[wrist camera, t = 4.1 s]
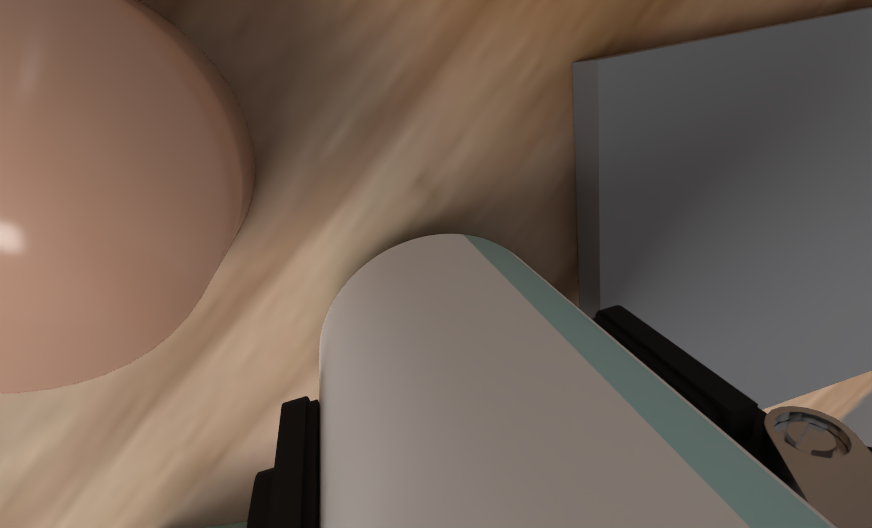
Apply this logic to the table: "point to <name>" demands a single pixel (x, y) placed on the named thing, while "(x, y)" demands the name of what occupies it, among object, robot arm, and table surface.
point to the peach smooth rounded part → (108, 185)
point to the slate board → (735, 198)
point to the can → (511, 411)
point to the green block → (231, 525)
